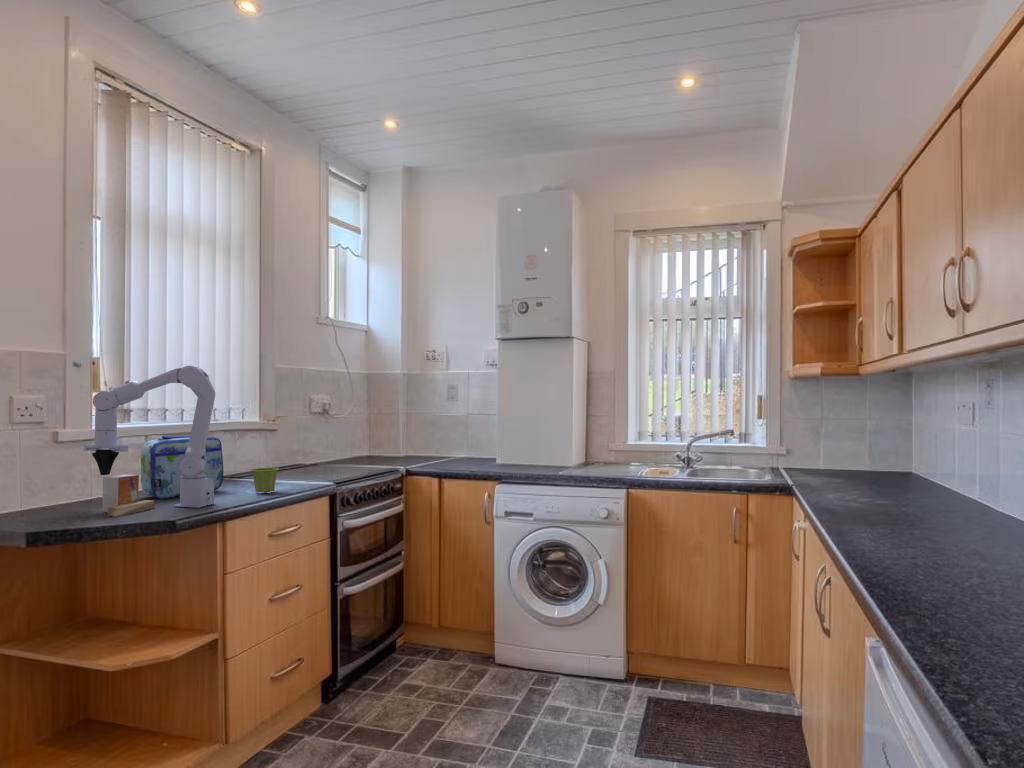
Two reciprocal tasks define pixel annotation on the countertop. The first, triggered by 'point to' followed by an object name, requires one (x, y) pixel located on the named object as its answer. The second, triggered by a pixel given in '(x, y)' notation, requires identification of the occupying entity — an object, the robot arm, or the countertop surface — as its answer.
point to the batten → (130, 508)
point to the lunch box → (175, 464)
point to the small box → (119, 490)
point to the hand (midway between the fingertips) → (105, 474)
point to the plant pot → (264, 479)
